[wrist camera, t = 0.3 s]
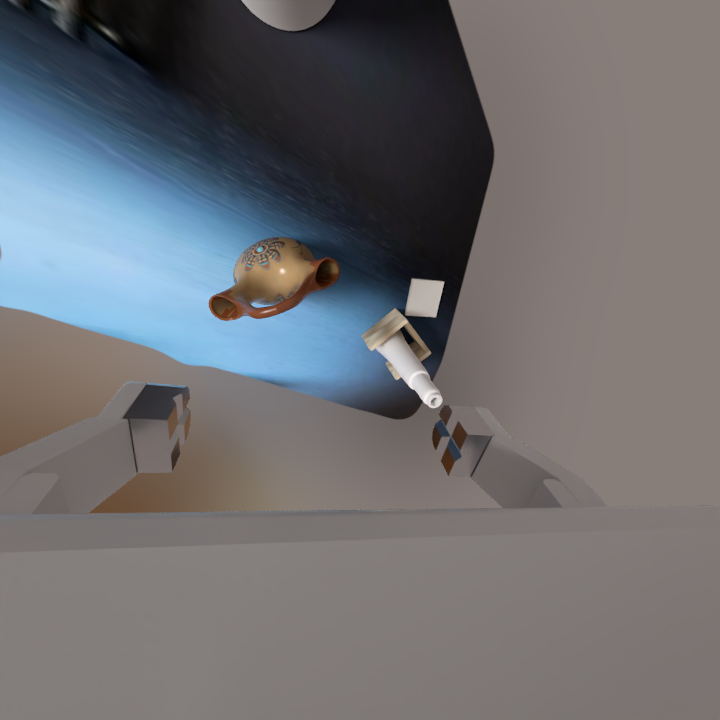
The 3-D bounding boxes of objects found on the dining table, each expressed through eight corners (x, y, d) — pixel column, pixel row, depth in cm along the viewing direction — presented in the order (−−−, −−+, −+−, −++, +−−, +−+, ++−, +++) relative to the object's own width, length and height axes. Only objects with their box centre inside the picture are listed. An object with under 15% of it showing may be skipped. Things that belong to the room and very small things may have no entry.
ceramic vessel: (313, 218, 52) (340, 237, 30) (331, 273, 56) (365, 323, 35) (214, 251, 51) (168, 295, 29) (240, 304, 55) (216, 376, 34)
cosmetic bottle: (401, 322, 64) (455, 378, 45) (404, 350, 67) (455, 413, 48) (372, 329, 63) (413, 389, 44) (375, 356, 66) (416, 423, 47)
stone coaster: (411, 278, 60) (412, 278, 60) (443, 281, 62) (444, 281, 61) (404, 314, 63) (405, 315, 63) (434, 316, 65) (435, 317, 64)
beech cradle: (387, 365, 68) (396, 380, 62) (361, 335, 63) (368, 348, 58) (419, 340, 67) (431, 353, 61) (395, 308, 62) (406, 318, 57)
